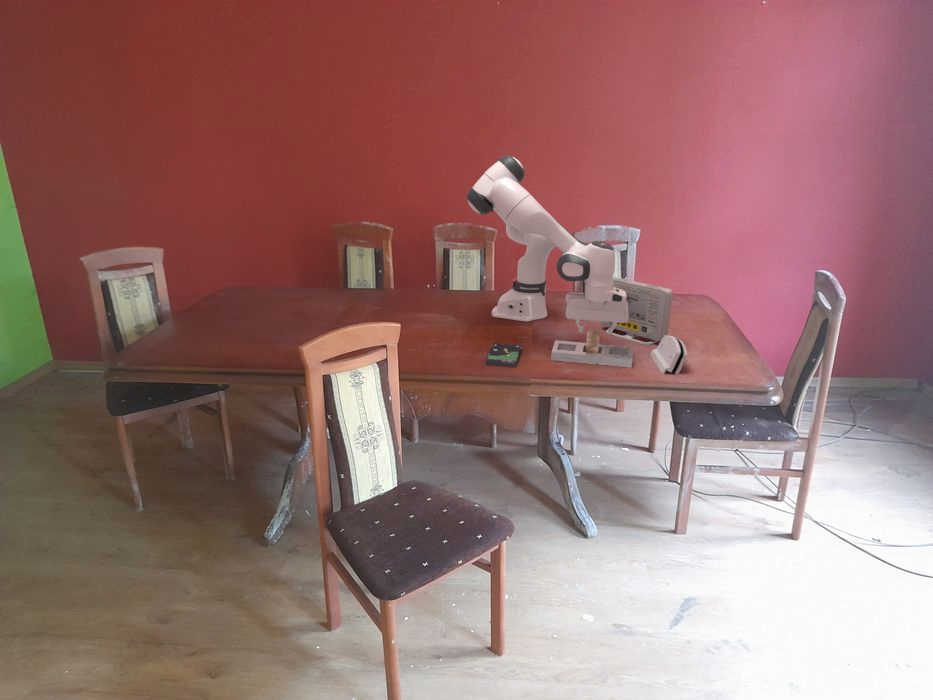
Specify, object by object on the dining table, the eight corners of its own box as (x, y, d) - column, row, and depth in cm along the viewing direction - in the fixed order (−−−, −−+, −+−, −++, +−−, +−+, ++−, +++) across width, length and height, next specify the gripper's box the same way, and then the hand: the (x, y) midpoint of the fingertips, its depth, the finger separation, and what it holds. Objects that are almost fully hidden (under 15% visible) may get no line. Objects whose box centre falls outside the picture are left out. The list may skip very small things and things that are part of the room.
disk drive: (492, 350, 209) (485, 366, 196) (492, 342, 208) (485, 358, 195) (522, 352, 207) (517, 368, 194) (522, 344, 206) (517, 360, 193)
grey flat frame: (551, 360, 199) (551, 351, 198) (554, 348, 209) (555, 340, 208) (631, 367, 193) (632, 359, 192) (631, 355, 203) (632, 346, 202)
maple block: (585, 359, 200) (587, 334, 196) (585, 355, 203) (587, 330, 200) (597, 360, 199) (599, 335, 195) (597, 356, 202) (599, 331, 199)
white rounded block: (649, 354, 204) (663, 328, 200) (662, 358, 204) (675, 332, 201) (662, 374, 188) (677, 346, 185) (676, 379, 189) (691, 351, 185)
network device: (669, 342, 214) (676, 288, 206) (657, 348, 208) (664, 293, 201) (608, 325, 231) (613, 274, 223) (595, 330, 225) (599, 279, 218)
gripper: (565, 293, 192) (562, 333, 197) (630, 297, 188) (626, 338, 193) (566, 288, 198) (564, 327, 203) (630, 291, 193) (626, 331, 199)
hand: (595, 332), depth 198 cm, fingers open, 8 cm apart
